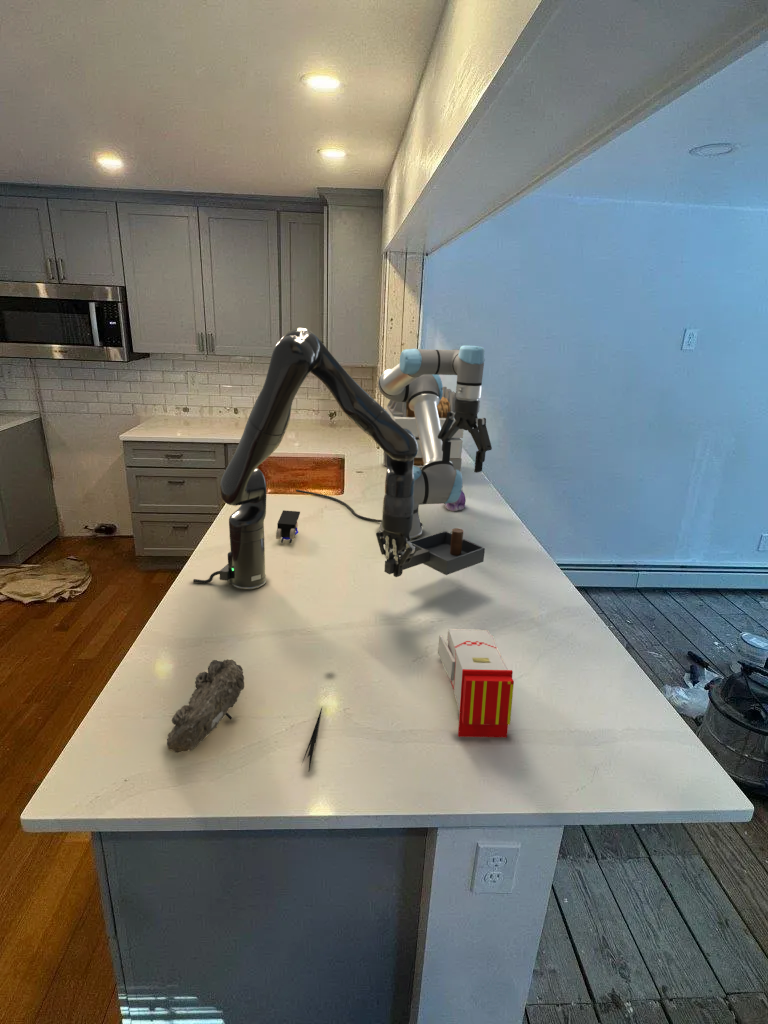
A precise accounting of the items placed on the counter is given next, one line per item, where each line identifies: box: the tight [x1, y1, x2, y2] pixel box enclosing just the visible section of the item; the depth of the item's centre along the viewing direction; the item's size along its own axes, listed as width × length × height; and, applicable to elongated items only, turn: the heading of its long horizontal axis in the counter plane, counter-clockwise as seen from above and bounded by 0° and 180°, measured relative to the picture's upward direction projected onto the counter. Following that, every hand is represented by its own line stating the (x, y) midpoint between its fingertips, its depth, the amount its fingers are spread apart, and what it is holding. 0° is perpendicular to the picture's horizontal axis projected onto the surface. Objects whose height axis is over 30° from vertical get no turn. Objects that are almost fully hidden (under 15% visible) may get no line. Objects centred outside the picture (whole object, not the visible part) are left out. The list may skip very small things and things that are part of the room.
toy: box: [437, 628, 515, 738], centre depth 117 cm, size 12×13×30 cm
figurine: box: [444, 470, 467, 512], centre depth 226 cm, size 9×10×15 cm
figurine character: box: [275, 509, 301, 544], centre depth 191 cm, size 7×8×15 cm
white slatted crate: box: [383, 386, 465, 472], centre depth 268 cm, size 34×33×41 cm
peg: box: [450, 527, 464, 556], centre depth 158 cm, size 3×3×7 cm
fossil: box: [166, 658, 245, 754], centre depth 106 cm, size 22×10×15 cm
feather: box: [301, 673, 332, 771], centre depth 108 cm, size 2×28×2 cm
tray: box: [383, 530, 486, 576], centre depth 152 cm, size 29×15×4 cm, turn 131°
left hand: (394, 573), depth 145 cm, fingers closed on tray, 2 cm apart
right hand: (461, 466), depth 179 cm, fingers open, 13 cm apart
